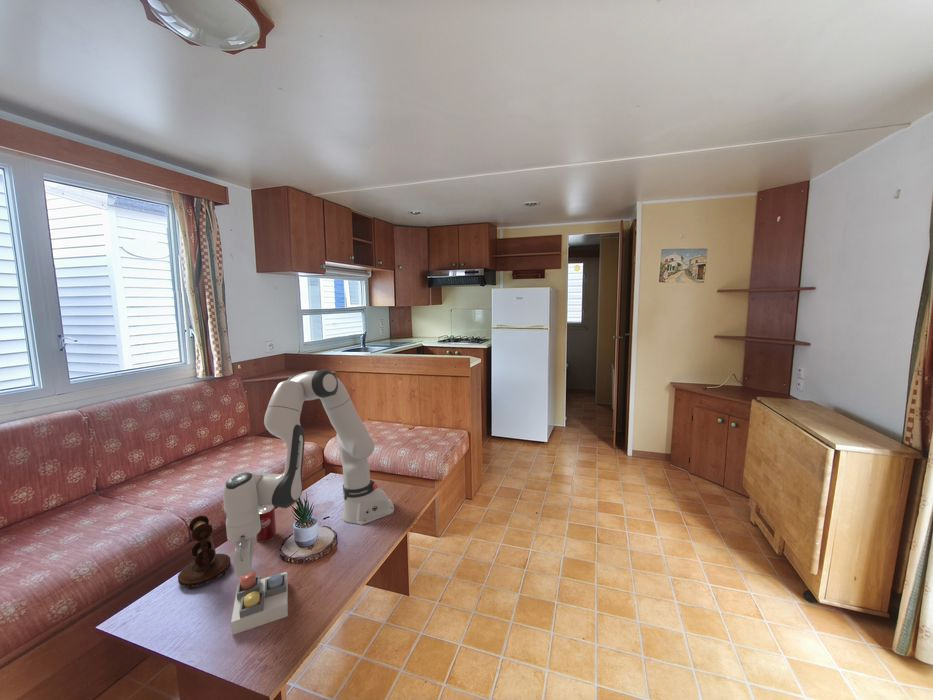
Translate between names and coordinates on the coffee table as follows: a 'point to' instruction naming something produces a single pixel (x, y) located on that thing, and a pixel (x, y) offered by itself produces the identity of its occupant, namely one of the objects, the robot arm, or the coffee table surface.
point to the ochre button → (251, 599)
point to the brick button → (248, 581)
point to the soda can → (267, 523)
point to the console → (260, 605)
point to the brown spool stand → (203, 557)
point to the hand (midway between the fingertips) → (247, 570)
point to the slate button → (275, 581)
